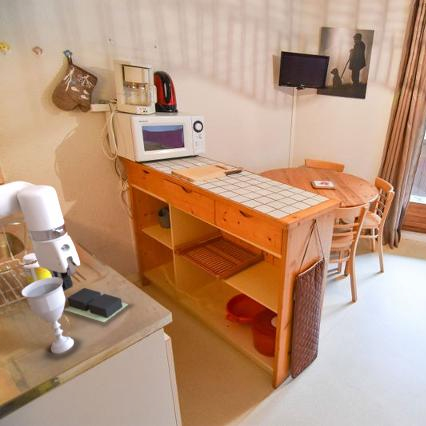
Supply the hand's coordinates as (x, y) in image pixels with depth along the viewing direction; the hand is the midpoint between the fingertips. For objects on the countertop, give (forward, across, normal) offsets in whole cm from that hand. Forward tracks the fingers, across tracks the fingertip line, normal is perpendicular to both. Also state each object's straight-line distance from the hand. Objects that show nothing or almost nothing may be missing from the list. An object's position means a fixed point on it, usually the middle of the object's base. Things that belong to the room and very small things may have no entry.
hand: (65, 288), depth 91 cm
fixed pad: (+4, -14, 0) cm, 15 cm away
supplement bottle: (+4, +14, -2) cm, 15 cm away
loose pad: (+3, -7, 0) cm, 8 cm away
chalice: (+4, -16, +14) cm, 21 cm away
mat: (+4, -11, 0) cm, 11 cm away
